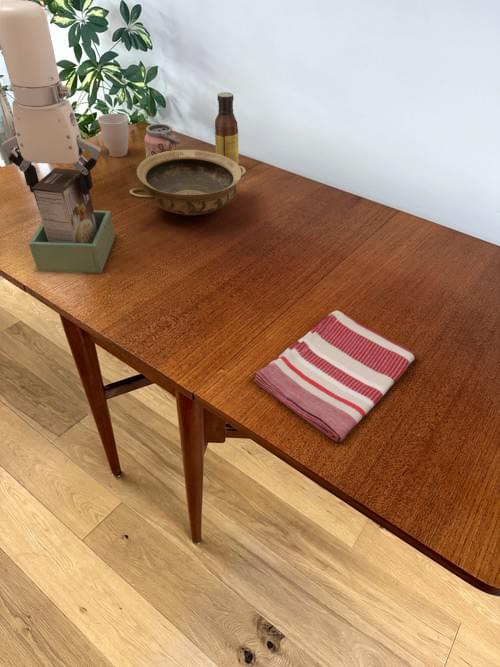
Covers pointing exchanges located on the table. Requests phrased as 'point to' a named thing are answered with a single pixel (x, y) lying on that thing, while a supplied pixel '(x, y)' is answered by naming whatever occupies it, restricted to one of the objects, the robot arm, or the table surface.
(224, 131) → the sauce bottle
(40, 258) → the bin
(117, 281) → the table surface
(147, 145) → the pink jar
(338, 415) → the dish towel
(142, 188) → the ceramic bowl
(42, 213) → the coffee box
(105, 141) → the cup
